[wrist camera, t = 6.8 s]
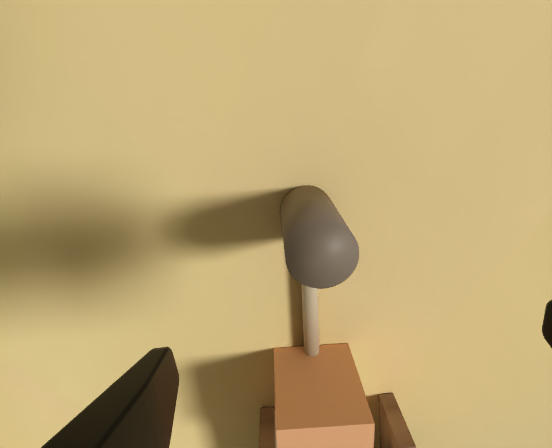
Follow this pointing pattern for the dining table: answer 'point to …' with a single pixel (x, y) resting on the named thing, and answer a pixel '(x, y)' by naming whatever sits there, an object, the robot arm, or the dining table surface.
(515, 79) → the dining table surface
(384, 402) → the dark brown open box
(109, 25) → the dining table surface
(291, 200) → the tethered block
